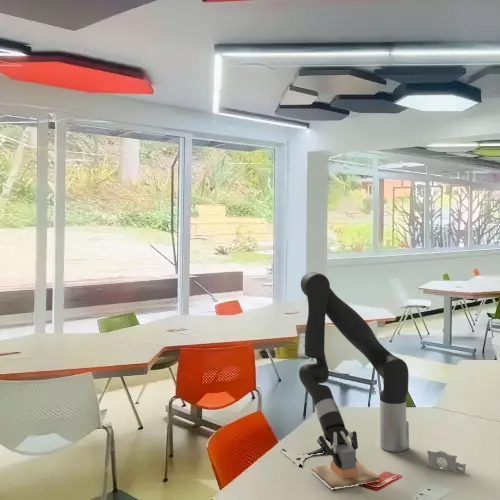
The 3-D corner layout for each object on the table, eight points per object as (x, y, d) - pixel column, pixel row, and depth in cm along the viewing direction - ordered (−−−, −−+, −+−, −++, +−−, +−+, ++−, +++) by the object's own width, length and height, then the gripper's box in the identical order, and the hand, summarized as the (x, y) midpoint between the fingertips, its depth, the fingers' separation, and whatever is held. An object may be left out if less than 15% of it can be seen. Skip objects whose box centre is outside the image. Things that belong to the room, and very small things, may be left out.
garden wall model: (466, 472, 179) (466, 454, 179) (465, 474, 177) (465, 456, 177) (428, 465, 185) (428, 447, 185) (427, 467, 184) (426, 449, 184)
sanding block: (346, 466, 181) (345, 442, 181) (358, 476, 174) (358, 450, 174) (330, 468, 180) (330, 444, 179) (342, 478, 172) (342, 453, 172)
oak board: (357, 464, 186) (357, 460, 186) (380, 482, 173) (380, 476, 173) (311, 472, 181) (311, 467, 181) (331, 490, 167) (331, 485, 167)
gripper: (313, 412, 181) (330, 463, 170) (351, 407, 186) (371, 456, 174) (306, 423, 186) (323, 473, 175) (344, 418, 191) (362, 467, 180)
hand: (347, 464), depth 175 cm, fingers closed on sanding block, 4 cm apart
